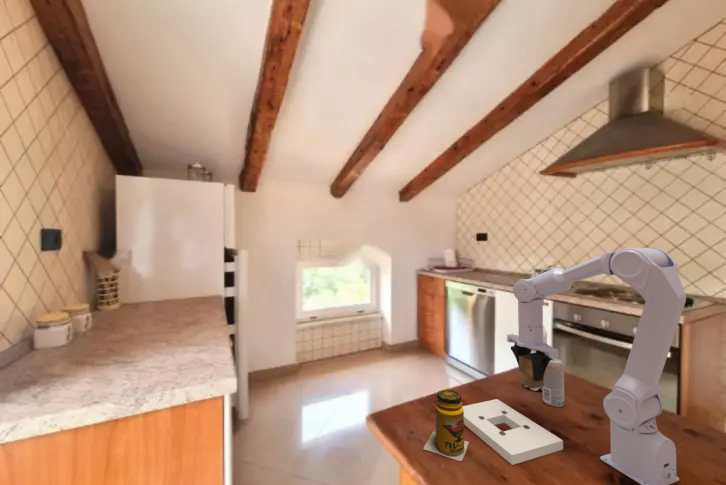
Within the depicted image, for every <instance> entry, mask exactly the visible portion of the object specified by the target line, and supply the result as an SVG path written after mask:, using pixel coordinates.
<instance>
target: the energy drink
mask: <svg viewBox="0 0 726 485" xmlns="http://www.w3.org/2000/svg"><path fill="white" fill-rule="evenodd" d="M541 391H542V393H541V394H542V395H541V397H542V401H543V403H544V404H546V406H547V405H548V406H551V407H554V408H555V407H556V408H561V407H563V406H564V405H565V364H564V360H563V359H560V358H559V357H558V358H553V359H551V360H550V362H549V364H548V365H547V368H546V370H545V373H544V386H543V387H542V390H541Z"/></svg>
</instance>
